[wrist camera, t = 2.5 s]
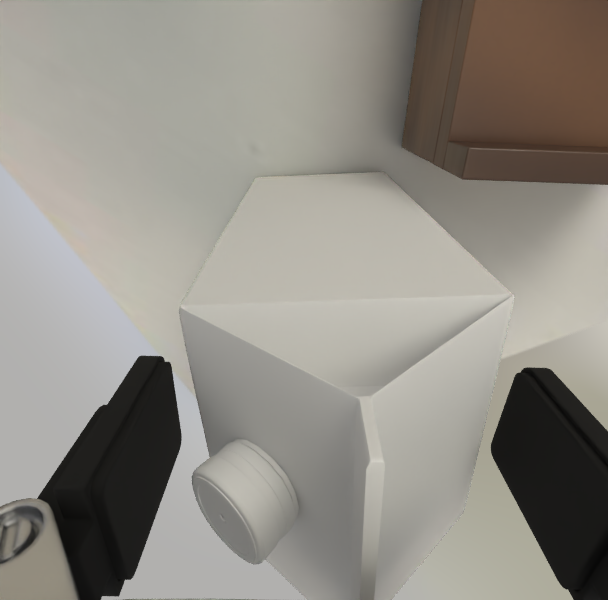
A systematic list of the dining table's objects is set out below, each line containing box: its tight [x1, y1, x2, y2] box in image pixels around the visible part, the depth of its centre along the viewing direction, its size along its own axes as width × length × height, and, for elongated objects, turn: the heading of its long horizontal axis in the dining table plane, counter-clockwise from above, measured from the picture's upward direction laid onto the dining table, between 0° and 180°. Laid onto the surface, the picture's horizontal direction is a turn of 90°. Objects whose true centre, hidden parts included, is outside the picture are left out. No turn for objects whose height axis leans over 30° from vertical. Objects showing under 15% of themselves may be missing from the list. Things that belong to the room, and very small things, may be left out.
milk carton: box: [179, 172, 515, 600], centre depth 15 cm, size 7×7×19 cm
